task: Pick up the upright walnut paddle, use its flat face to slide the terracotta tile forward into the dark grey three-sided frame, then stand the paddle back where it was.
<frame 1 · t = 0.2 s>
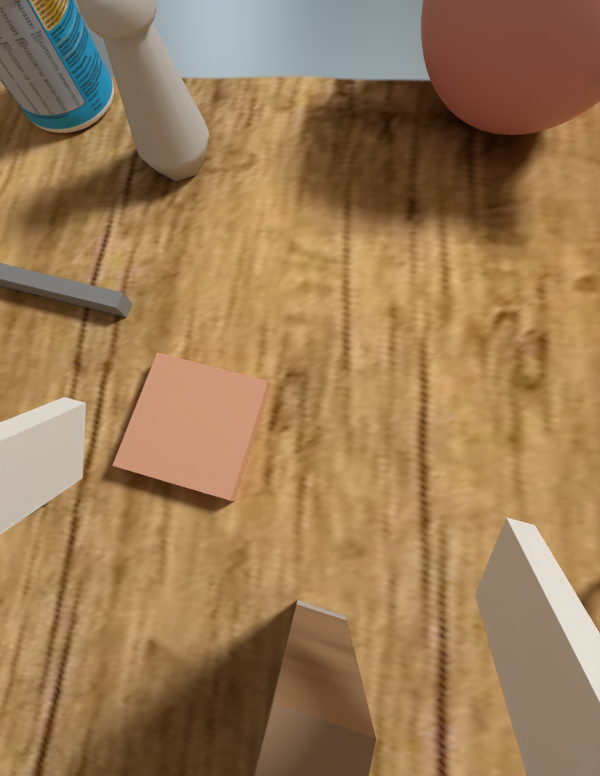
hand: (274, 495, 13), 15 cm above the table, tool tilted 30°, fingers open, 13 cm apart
salt shaker: (181, 162, 35), on the table
terracotta tile: (200, 428, 29), on the table
slate frame: (17, 376, 30), on the table
balloon: (512, 126, 35), on the table
beverage bottle: (73, 103, 38), on the table
walnut paddle: (301, 690, 24), on the table
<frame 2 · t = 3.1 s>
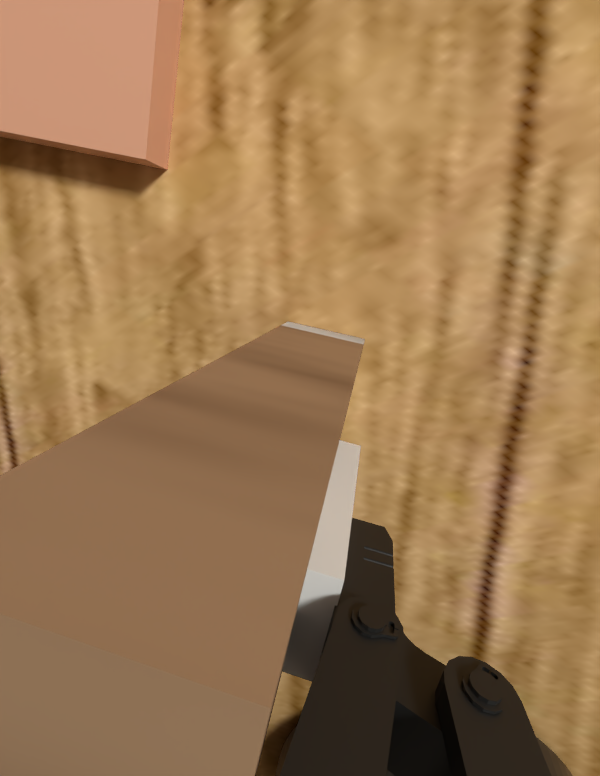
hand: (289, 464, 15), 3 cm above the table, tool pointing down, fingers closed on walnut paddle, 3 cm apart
terracotta tile: (83, 32, 15), on the table
walnut paddle: (302, 436, 17), on the table, touching gripper
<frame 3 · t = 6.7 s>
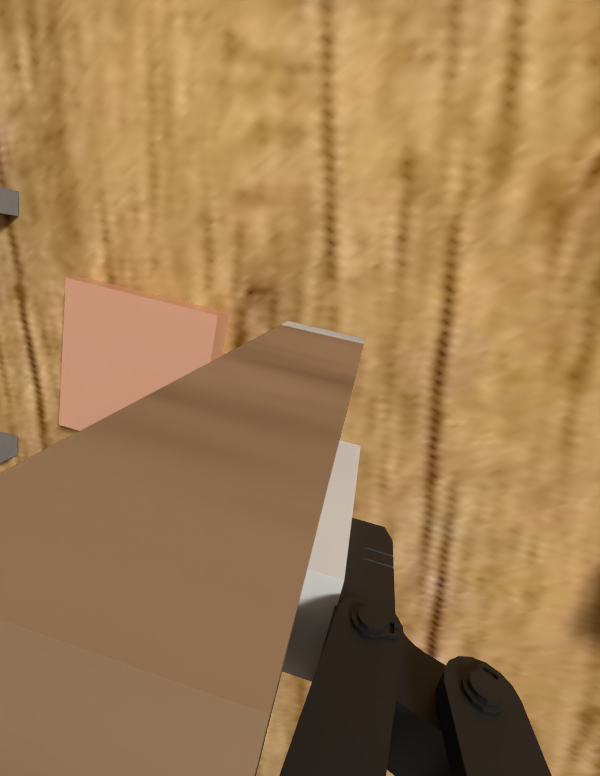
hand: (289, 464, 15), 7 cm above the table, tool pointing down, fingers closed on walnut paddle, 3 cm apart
terracotta tile: (152, 366, 23), on the table
walnut paddle: (302, 436, 17), point 5 cm above the table, touching gripper
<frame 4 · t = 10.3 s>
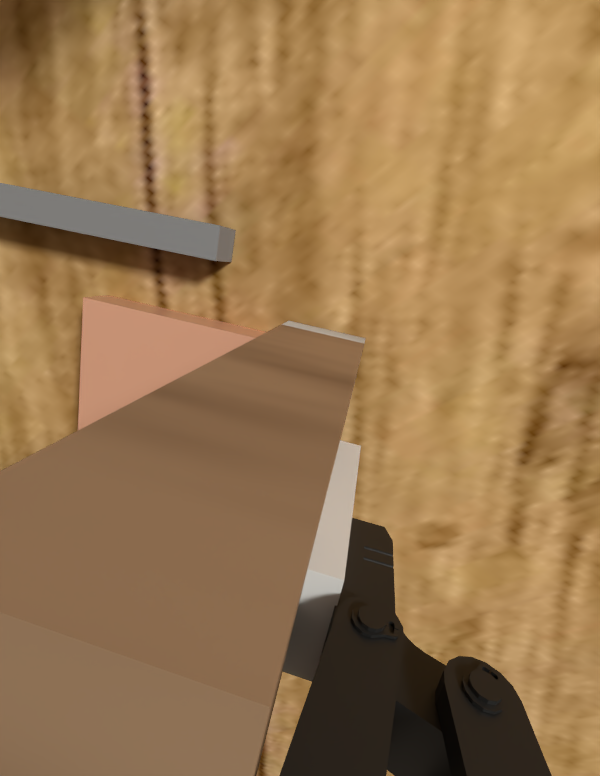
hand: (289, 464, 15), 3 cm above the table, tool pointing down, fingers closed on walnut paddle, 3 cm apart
terracotta tile: (189, 402, 19), on the table, touching walnut paddle
slate frame: (88, 380, 19), on the table
walnut paddle: (303, 436, 17), point 1 cm above the table, touching gripper, terracotta tile
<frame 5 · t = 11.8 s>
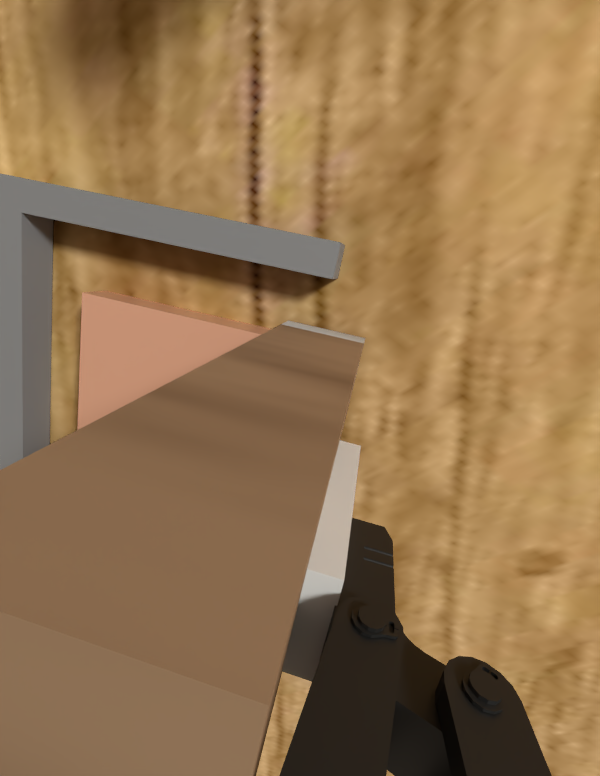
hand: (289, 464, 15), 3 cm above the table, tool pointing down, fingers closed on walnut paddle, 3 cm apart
terracotta tile: (189, 397, 19), on the table
slate frame: (172, 397, 18), on the table
walnut paddle: (303, 436, 17), on the table, touching gripper
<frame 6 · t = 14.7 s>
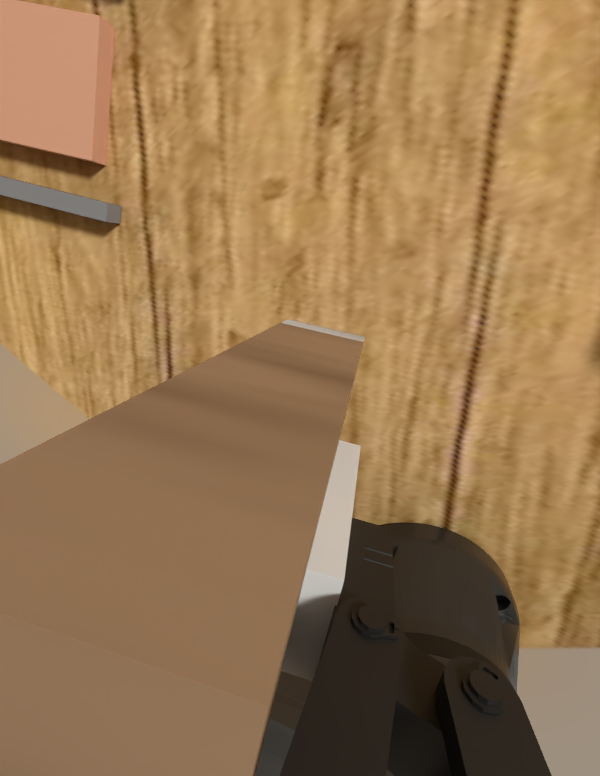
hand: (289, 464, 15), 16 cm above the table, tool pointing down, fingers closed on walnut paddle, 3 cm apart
terracotta tile: (62, 91, 29), on the table
slate frame: (49, 86, 28), on the table
walnut paddle: (302, 435, 17), point 14 cm above the table, touching gripper
when the fingers open (4 cm above the table, at t = 17.4 s): walnut paddle drops 2 cm, on the table.
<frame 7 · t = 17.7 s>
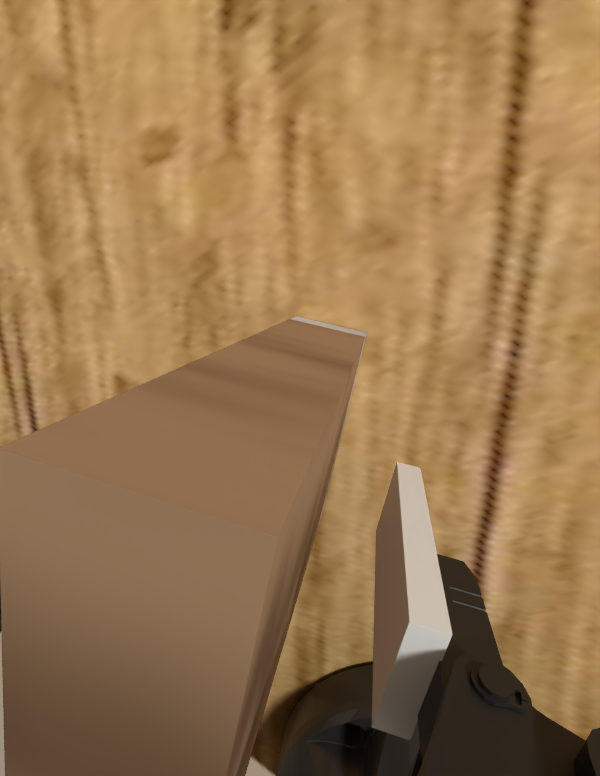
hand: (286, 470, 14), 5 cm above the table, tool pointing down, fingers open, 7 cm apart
walnut paddle: (309, 423, 19), on the table
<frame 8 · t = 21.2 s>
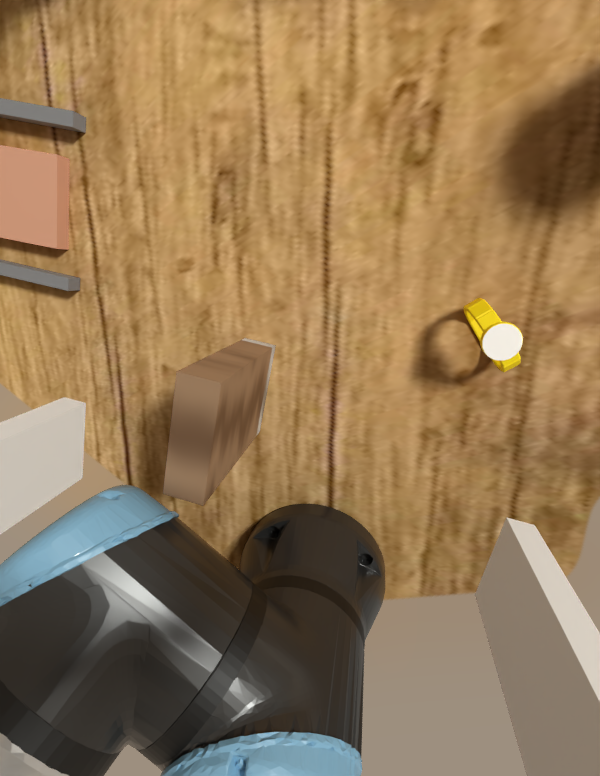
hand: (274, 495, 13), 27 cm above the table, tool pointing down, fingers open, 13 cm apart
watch: (482, 330, 36), on the table
terracotta tile: (35, 199, 40), on the table
slate frame: (26, 197, 40), on the table
walnut paddle: (252, 386, 41), on the table
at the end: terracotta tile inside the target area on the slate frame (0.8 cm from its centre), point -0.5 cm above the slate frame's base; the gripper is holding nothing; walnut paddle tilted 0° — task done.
